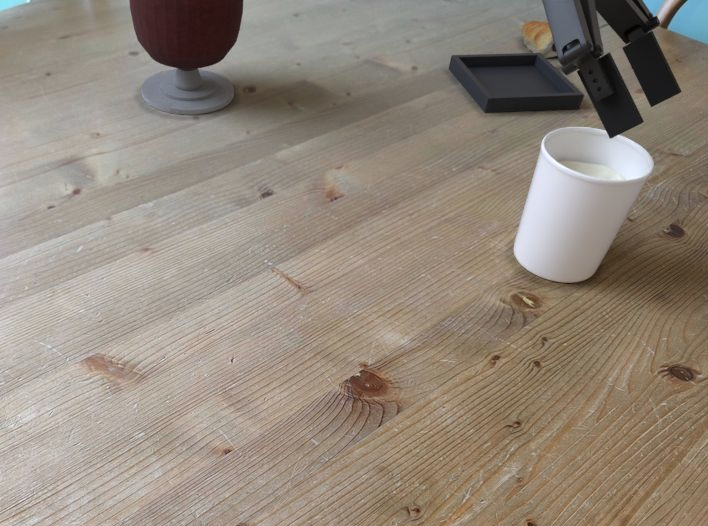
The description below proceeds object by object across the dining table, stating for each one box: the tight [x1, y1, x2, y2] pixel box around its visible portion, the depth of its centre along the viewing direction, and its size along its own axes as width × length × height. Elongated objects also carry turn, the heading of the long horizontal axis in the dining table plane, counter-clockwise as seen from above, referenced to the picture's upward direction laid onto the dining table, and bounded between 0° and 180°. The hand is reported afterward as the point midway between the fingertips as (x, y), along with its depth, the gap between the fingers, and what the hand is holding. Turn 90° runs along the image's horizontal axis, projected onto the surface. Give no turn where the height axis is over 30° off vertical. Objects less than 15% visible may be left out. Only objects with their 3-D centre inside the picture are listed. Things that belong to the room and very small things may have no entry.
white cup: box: [513, 126, 655, 284], centre depth 72 cm, size 10×10×12 cm
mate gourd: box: [128, 0, 244, 116], centre depth 92 cm, size 16×14×20 cm
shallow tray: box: [448, 52, 585, 113], centre depth 104 cm, size 14×14×2 cm
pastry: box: [520, 20, 558, 59], centre depth 115 cm, size 9×7×4 cm
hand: (648, 114), depth 69 cm, fingers open, 13 cm apart
